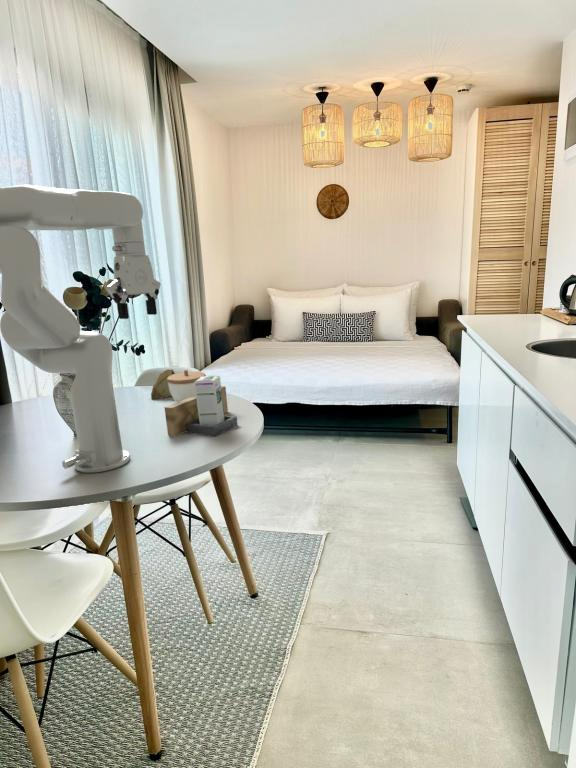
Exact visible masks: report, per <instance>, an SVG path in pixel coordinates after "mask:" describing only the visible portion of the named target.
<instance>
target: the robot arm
mask: <svg viewBox="0 0 576 768" xmlns="http://www.w3.org/2000/svg"><path fill="white" fill-rule="evenodd" d="M143 209H144V208H143V206H142V203H141V201H140V200H139V199H138V198H137V197H136V196H135V195H133V194H132V193H129V192H128V193H127V192H119V191H110V190H109V191H105V190H89V189H88V190H87V189H86V190H85V189H68V188H58V187H57V188H56V187H48V186H42V185H40V186H39V185H33V184H20V185H12V186H5V187H4V186H3V187H0V274H1V290H0V291H1V292H0V298H1V304H2V306H3V308H4V310H5V311H4V313H3V314H2V316H1V318H0V333H1V335H2V338H3V340H4V341H5V343H6V344H7V345H8V346H9V347H10V349H12V350H13V351H14V352H16V353H17V354H18V355H20V356H21V357H23V358H24V359H25V360H27V361H28V362H30V363H31V364H32V365H34V366H35V367H37V368H38V369H39V370H42V371H44V372H46V373H50V374H74V375H75V377H74V380H73V382H72V384H71V387H70V392H69V397H70V404H71V408H72V414H73V420H74V428H75V432H76V437H77V438H76V439H77V444H78V449H75V450H74V452H75V454H74V455H73V457H71V458H70V457H69V458H67V459H65V460H63V461H62V462H61V464H62V467H63V468H64V469H65V470H67V469H69V468H71V467H74V468H75V469H76V471H79V472H81V473H88V474H89V473H92V474H94V473H100V472H107V471H111V470H114V469H117V468H121V467H122V466H123V465H126V464H127V463H128V462H129V461H130V460H131V454H130V452H129V451H128V450H125V449H123V444H122V439H121V437H122V436H121V431H120V430H121V429H120V425H119V423H120V422H119V418H118V411H117V410H118V409H117V404H116V398H115V392H114V391H115V390H114V386H113V385H114V383H113V367H112V366H113V352H114V351H113V347H112V343H111V341H110V340H109V338H108V337H107V336H106V335H104V334H103V333H100V332H97V331H90V330H89V331H88V330H86V331H85V330H83V331H82V330H81V325H80V323H79V322H80V321H79V320H78V319H77V318H76V316H75V315H74V314H73V313H72V312H71V310H69V309H68V308H67V307H66V306H65V305H64V303H62V302H61V301H60V300H59V299H57V297H55V296H54V295H53V294H52V293H51V291H49V289H48V288H47V287H45V285H44V283H43V280H42V275H41V274H42V273H41V272H42V271H41V250H40V245H39V242H38V240H37V239H36V237H35V235H34V234H33V233H32V232H31V231H67V232H68V231H69V232H71V231H73V232H74V231H85V230H92V229H95V230H99V231H100V230H101V231H102V230H104V231H105V230H112V236H113V238H112V239H113V246H112V247H111V249H112V252H115V256H114V257H113V281H112V282H111V283H110V284H108V285H107V286H106V287H105V288H106V291H107V293H108V295H109V297H110V298H111V299H112V300H113V302H114V304H116V307H117V314H118V319H120V320H128V319H129V318H130V316H129V308H128V303H127V302H126V301H127V298H128V297H129V295H130V296H135V295H143V296H144V297H145V298H146V299H145V307H146V314H147V315H151V316H153V315H157V314H158V312H157V302H156V300H157V298H158V295H159V294H160V289H161V285H162V284H161V282H160V281H158V280H156V279H155V278H154V277H155V275H154V271H153V267H152V262H151V260H150V257H149V254H148V255H147V253H146V246H145V239H144V230H143V229H144V228H143V222H142V220H143V217H144V210H143Z"/></svg>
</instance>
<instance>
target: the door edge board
mask: <svg viewBox="0 0 576 768" xmlns="http://www.w3.org/2000/svg"><path fill="white" fill-rule="evenodd" d="M221 390H222V399H223V407H224V414H226V413H228V412H229V409H228V398H227V388H226V385H223V386H222V385H221ZM164 413H165V421H166V423H165V424H166V431H167V436H168V435H169V436H168V437H174V436H175V437H178V436H179V435H182V434H183V432H184V433H185V431H186V432H187V430H186V423H188V422H191V421H193V420H195V419H197V418H199V415H198V407H197V399H196V395H195V396H192V397H190V398H187V399H185V400H182V401H180V402H177V401H176V402H175V403H172V404H170V405H167V406H164Z"/></svg>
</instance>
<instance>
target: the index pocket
mask: <svg viewBox="0 0 576 768" xmlns="http://www.w3.org/2000/svg"><path fill="white" fill-rule="evenodd" d="M224 416H225V421H223V422H221V423H219V424H217V425H215V426H211V425H203V424H200V423H199V418H197V419H195V420H193V421H191V422H188V423H186V430H187V431H186V433H188V432H190V434H195V433H196V435H202V434H203V436H209V435H210V436H211V437H217V435H218V436H220V435H222V434H223V433H225V432H227V431H229V430H230V429H231V430H232V429H233V428H235V427H237V426H238V417H237V416H234V415H226V414H224ZM210 436H209V437H210Z"/></svg>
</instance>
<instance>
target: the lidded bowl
mask: <svg viewBox="0 0 576 768" xmlns="http://www.w3.org/2000/svg"><path fill="white" fill-rule="evenodd" d="M204 376H207V374H206V373H205V372H202V371H189V370H188V369H184V370H183V372H179V373H175V374H173V375H171V376H169V377H167V381H168V386H169V391H170V394H171V396H172V399H173V400H174V401H175V402H176V403H177V402H180V401H182V400H185V399H187V398H190V397H192V396H195V395H196V391H195V383H194V382H195V381H197V380H198V379H199V378H200V377H204Z"/></svg>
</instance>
